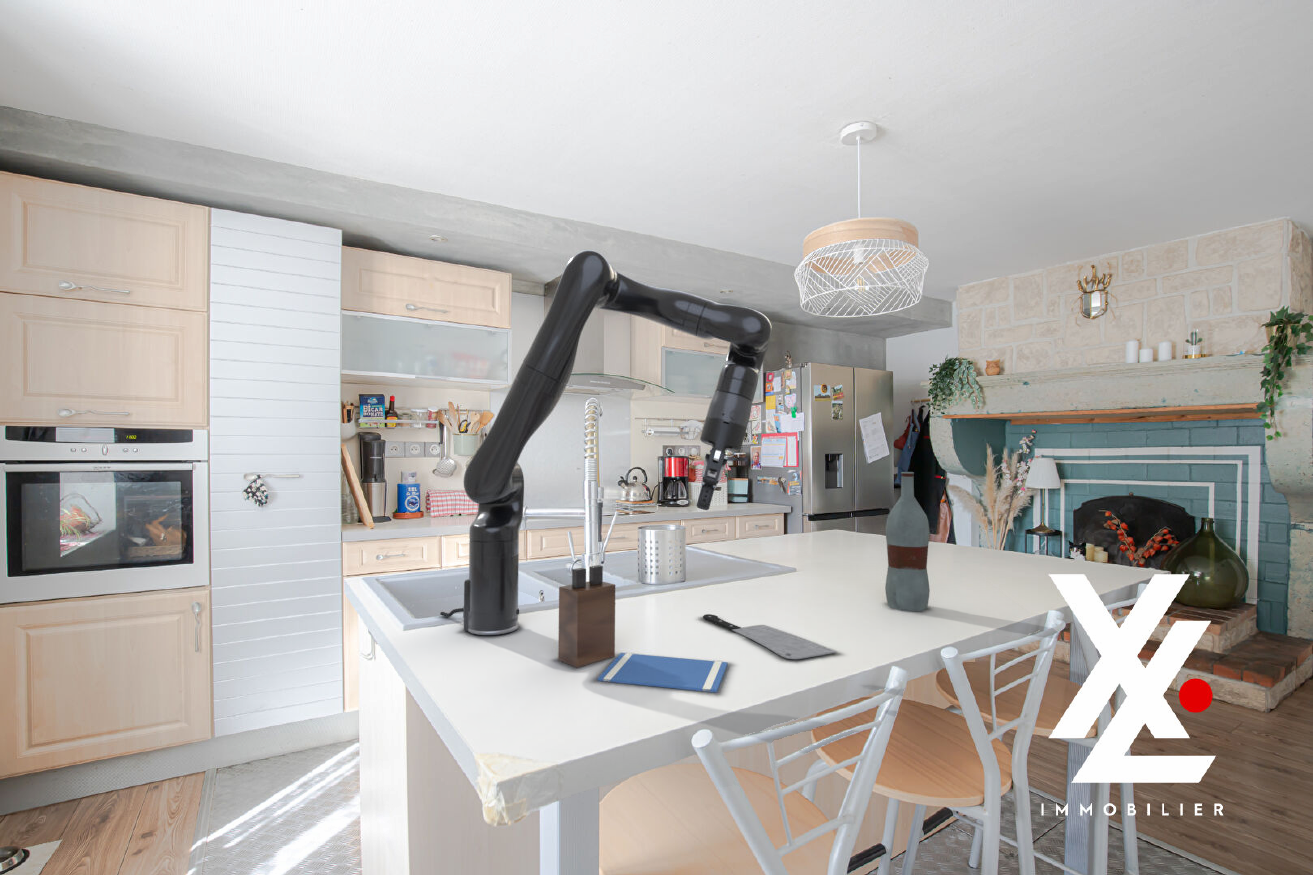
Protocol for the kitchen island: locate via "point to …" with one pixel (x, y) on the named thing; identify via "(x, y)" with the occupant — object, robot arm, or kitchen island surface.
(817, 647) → the cleaver
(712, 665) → the towel
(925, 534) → the bottle
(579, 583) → the knife block
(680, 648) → the kitchen island surface
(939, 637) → the kitchen island surface
